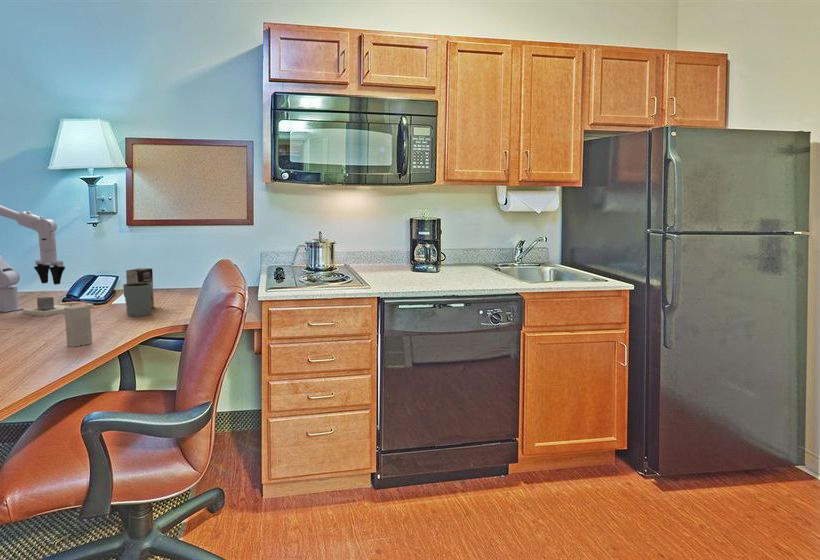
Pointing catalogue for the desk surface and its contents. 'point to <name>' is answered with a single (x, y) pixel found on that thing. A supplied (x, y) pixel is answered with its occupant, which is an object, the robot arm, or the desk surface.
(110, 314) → the desk surface
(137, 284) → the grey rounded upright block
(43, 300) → the dark grey block
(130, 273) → the coffee box
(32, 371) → the desk surface
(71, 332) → the skincare box
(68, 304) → the board with square holes
